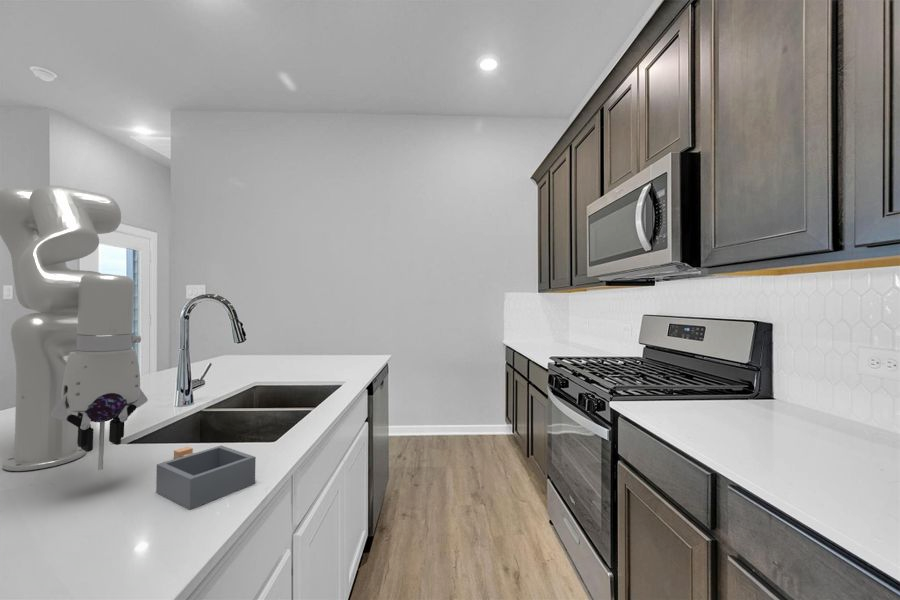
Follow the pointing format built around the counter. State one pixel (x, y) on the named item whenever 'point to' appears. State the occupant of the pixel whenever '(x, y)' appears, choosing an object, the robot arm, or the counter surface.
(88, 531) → the counter surface
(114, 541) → the counter surface
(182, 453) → the cable run
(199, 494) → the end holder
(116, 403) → the lollipop
